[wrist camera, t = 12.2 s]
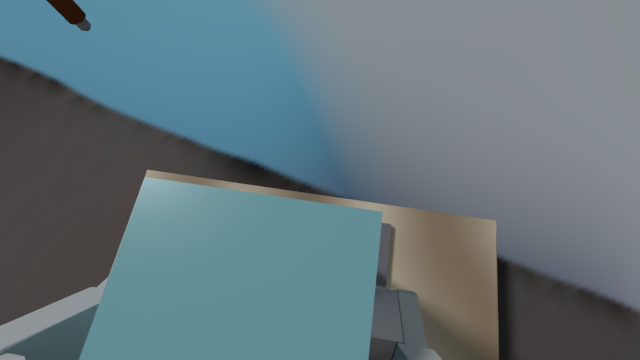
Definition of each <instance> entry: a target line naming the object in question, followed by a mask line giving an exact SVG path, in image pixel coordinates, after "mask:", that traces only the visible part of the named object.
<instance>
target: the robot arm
mask: <svg viewBox="0 0 640 360" xmlns="http://www.w3.org/2000/svg"><path fill="white" fill-rule="evenodd" d="M108 278H109V277H108ZM108 278H106V279H105V280H104V281H103V282H102V283H101V284H100V285H99V286H98V287H97V288H95V287H90V288H87V289H85V290H83V291H80V292H78V293H76V294H74V295H71V296H69V297H67V298H64V299H62V300H60V301H57V302H55V303H53V304H50V305H48V306H46V307H43V308H41V309H39V310H36V311H34V312H32V313H29V314H27V315H25V316H23V317H20V318H18V319H16V320H13V321H11V322H9V323H6V324H4V325H2V326H0V360H79V358H80V355H81V352H82V349H83V347H84V344H85V341H86V338H87V336H88V333H89V330H90V327H91V325H92V322H93V319H94V316H95V314H96V311H97V308H98V305H99V303H100V300H101V297H102V294H103V292H104V289H105V286H106V283H107V280H108ZM368 360H442V359H441V357H440V356H439V355H438V354H437V352H436V351H435V350H433V349H429V348H428V346H427V341H426V336H425V331H424V326H423V321H422V316H421V311H420V306H419V301H418V296H417V294H416V292H414V291H408V290H401V289H394V288H388V287H382V286H376V287H375V297H374V307H373V318H372V328H371V338H370V349H369V359H368Z"/></svg>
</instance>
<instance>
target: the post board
mask: <svg viewBox="0 0 640 360" xmlns="http://www.w3.org/2000/svg"><path fill="white" fill-rule="evenodd" d="M145 177H150V178H156V179H163V180H170V181H177V182H184V183H190V184H197V185H204V186H211V187H217V188H224V189H231V190H238V191H245V192H251V193H258V194H265V195H272V196H279V197H285V198H292V199H299V200H306V201H313V202H319V203H326V204H333V205H340V206H346V207H353V208H360V209H367V210H374V211H380V212H383V214H382V223H387V224H391V235H390V246H389V258H388V269H387V281H386V287H388V288H394V289H401V290H408V291H414V292H416V294H417V296H418V301H419V306H420V311H421V316H422V321H423V326H424V331H425V336H426V341H427V346H428V348H429V349H433V350H435V351H436V352H437V354H438V355H439V356H440V357H441V359H442V360H499V338H498V293H497V249H496V221H494V220H488V219H481V218H474V217H466V216H460V215H453V214H446V213H439V212H433V211H426V210H419V209H412V208H406V207H398V206H392V205H385V204H378V203H371V202H364V201H358V200H351V199H344V198H337V197H330V196H323V195H316V194H310V193H303V192H296V191H289V190H282V189H275V188H269V187H262V186H255V185H248V184H241V183H234V182H227V181H221V180H214V179H207V178H200V177H193V176H186V175H179V174H173V173H166V172H159V171H152V170H147V172H146V175H145ZM142 184H143V183H142ZM141 187H142V186H141ZM140 190H141V189H140ZM138 195H139V194H138ZM137 198H138V197H137ZM136 201H137V200H136ZM134 206H135V205H134ZM133 209H134V208H133ZM132 212H133V211H132ZM130 217H131V216H130ZM129 220H130V219H129ZM128 223H129V222H128ZM126 228H127V227H126ZM125 231H126V230H125ZM124 234H125V233H124ZM122 239H123V238H122ZM121 242H122V241H121ZM120 245H121V244H120ZM118 250H119V249H118ZM117 253H118V252H117ZM116 256H117V255H116ZM114 261H115V260H114ZM113 264H114V263H113ZM112 267H113V266H112ZM110 272H111V271H110ZM109 275H110V274H109Z"/></svg>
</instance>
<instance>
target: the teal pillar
mask: <svg viewBox="0 0 640 360" xmlns="http://www.w3.org/2000/svg"><path fill="white" fill-rule="evenodd" d="M382 214H383V212H380V211H374V210H367V209H360V208H353V207H346V206H340V205H333V204H326V203H319V202H313V201H306V200H299V199H292V198H285V197H279V196H272V195H265V194H258V193H251V192H245V191H238V190H231V189H224V188H217V187H211V186H204V185H197V184H190V183H184V182H177V181H170V180H163V179H156V178H150V177H145V178H144V181H143V184H142V187H141V190H140V192H139V195H138V198H137V201H136V203H135V206H134V209H133V212H132V214H131V217H130V220H129V223H128V225H127V228H126V231H125V234H124V236H123V239H122V242H121V245H120V247H119V250H118V253H117V256H116V258H115V261H114V264H113V267H112V269H111V272H110V275H109V278H108V280H107V283H106V286H105V289H104V292H103V294H102V297H101V300H100V303H99V305H98V308H97V311H96V314H95V316H94V319H93V322H92V325H91V327H90V330H89V333H88V336H87V338H86V341H85V344H84V347H83V349H82V352H81V355H80V358H79V360H368V359H369V349H370V338H371V328H372V318H373V307H374V297H375V287H376V276H377V266H378V256H379V245H380V235H381V225H382Z"/></svg>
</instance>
